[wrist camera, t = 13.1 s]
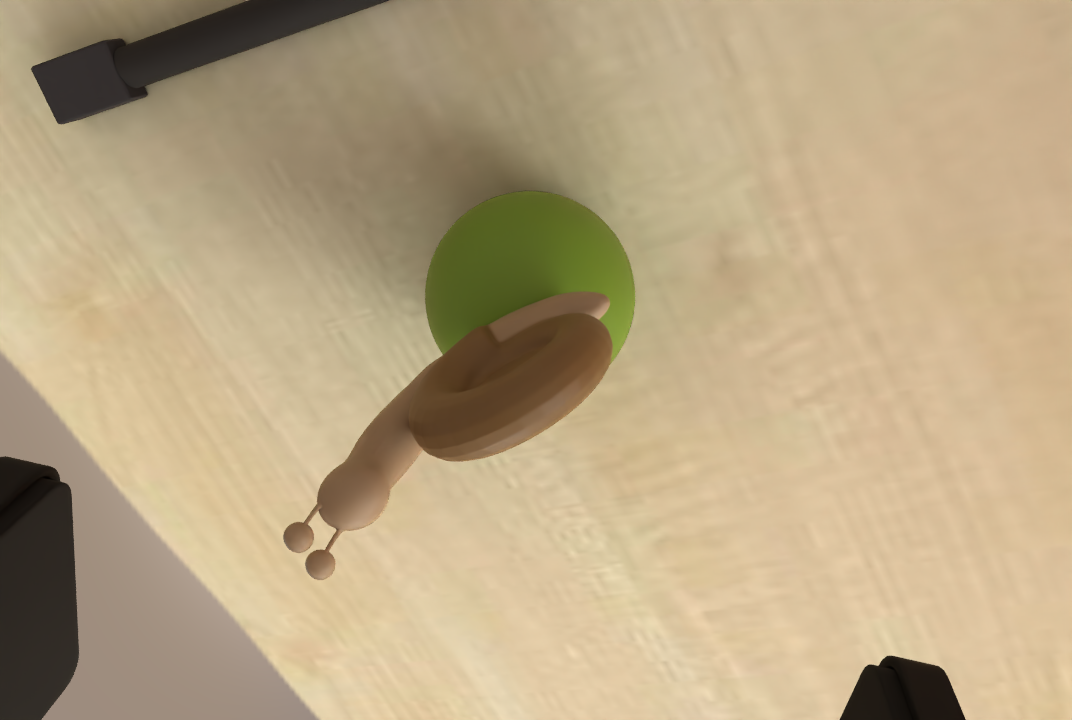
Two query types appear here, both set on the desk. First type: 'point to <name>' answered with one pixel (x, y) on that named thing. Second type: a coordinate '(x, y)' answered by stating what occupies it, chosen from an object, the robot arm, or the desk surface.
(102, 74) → the black long thin rod
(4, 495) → the robot arm
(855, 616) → the desk surface
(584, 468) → the desk surface
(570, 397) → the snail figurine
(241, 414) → the desk surface
